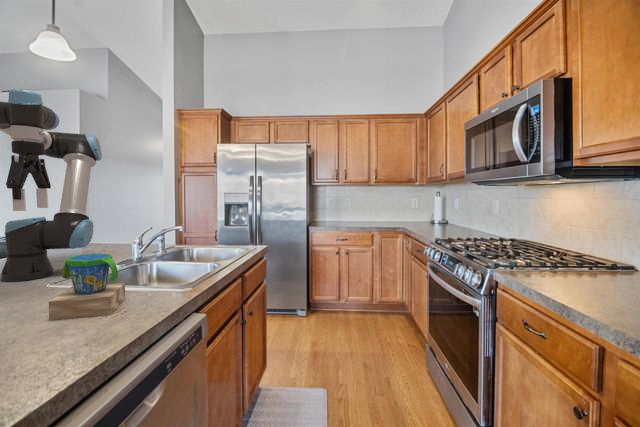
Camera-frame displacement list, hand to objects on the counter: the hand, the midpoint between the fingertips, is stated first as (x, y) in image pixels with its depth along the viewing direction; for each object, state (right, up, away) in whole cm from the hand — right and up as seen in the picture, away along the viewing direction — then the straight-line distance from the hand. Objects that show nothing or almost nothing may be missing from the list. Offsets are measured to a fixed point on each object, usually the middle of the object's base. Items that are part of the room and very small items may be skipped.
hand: (31, 209), depth 98 cm
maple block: (+25, -29, -8) cm, 39 cm away
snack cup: (+25, -24, -8) cm, 36 cm away
